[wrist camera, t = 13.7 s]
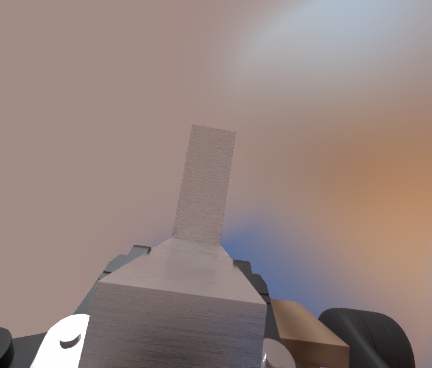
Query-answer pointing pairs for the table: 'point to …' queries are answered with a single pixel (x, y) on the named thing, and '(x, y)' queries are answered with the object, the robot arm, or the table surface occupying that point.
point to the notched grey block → (182, 285)
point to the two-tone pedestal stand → (308, 337)
